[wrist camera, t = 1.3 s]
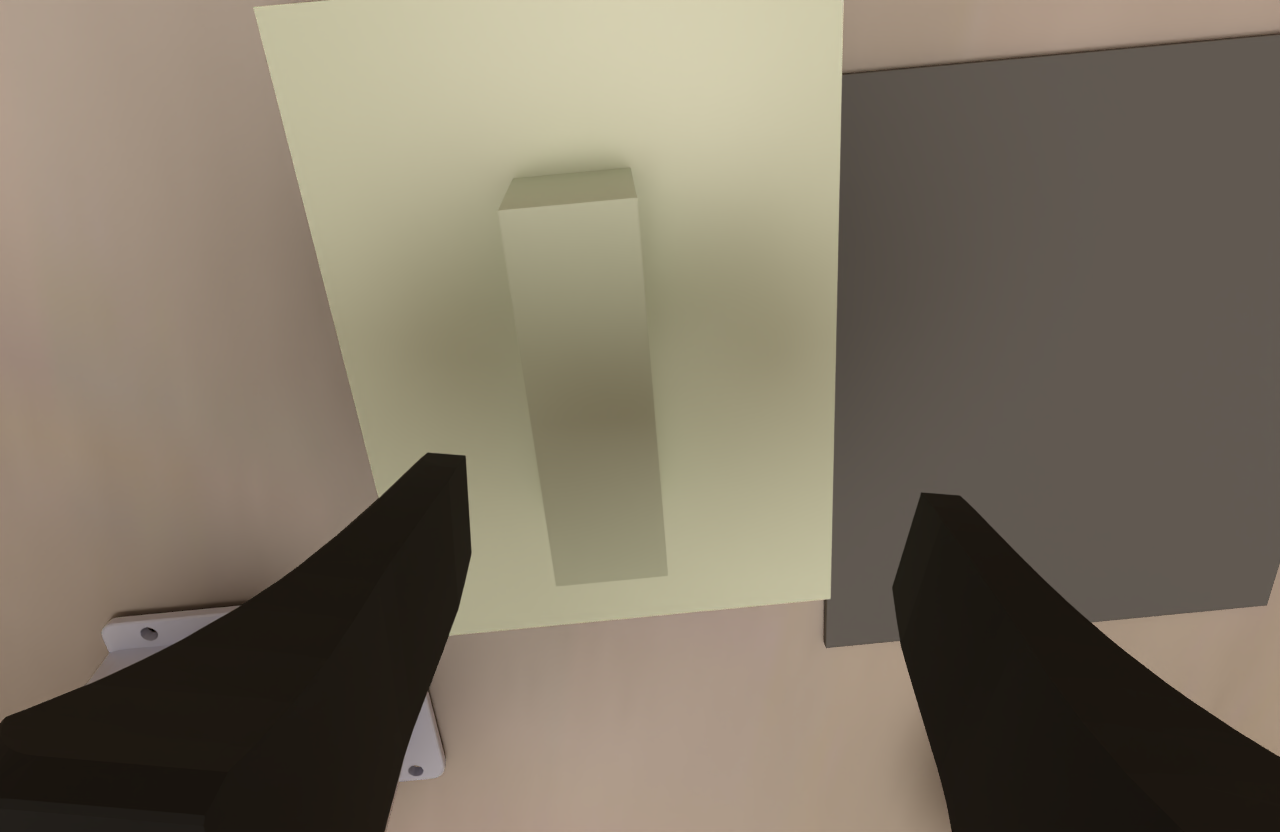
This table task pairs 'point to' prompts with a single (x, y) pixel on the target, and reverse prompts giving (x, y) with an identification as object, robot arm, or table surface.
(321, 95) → the lid
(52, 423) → the table surface
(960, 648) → the robot arm
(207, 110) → the table surface
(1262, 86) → the rubber mat
